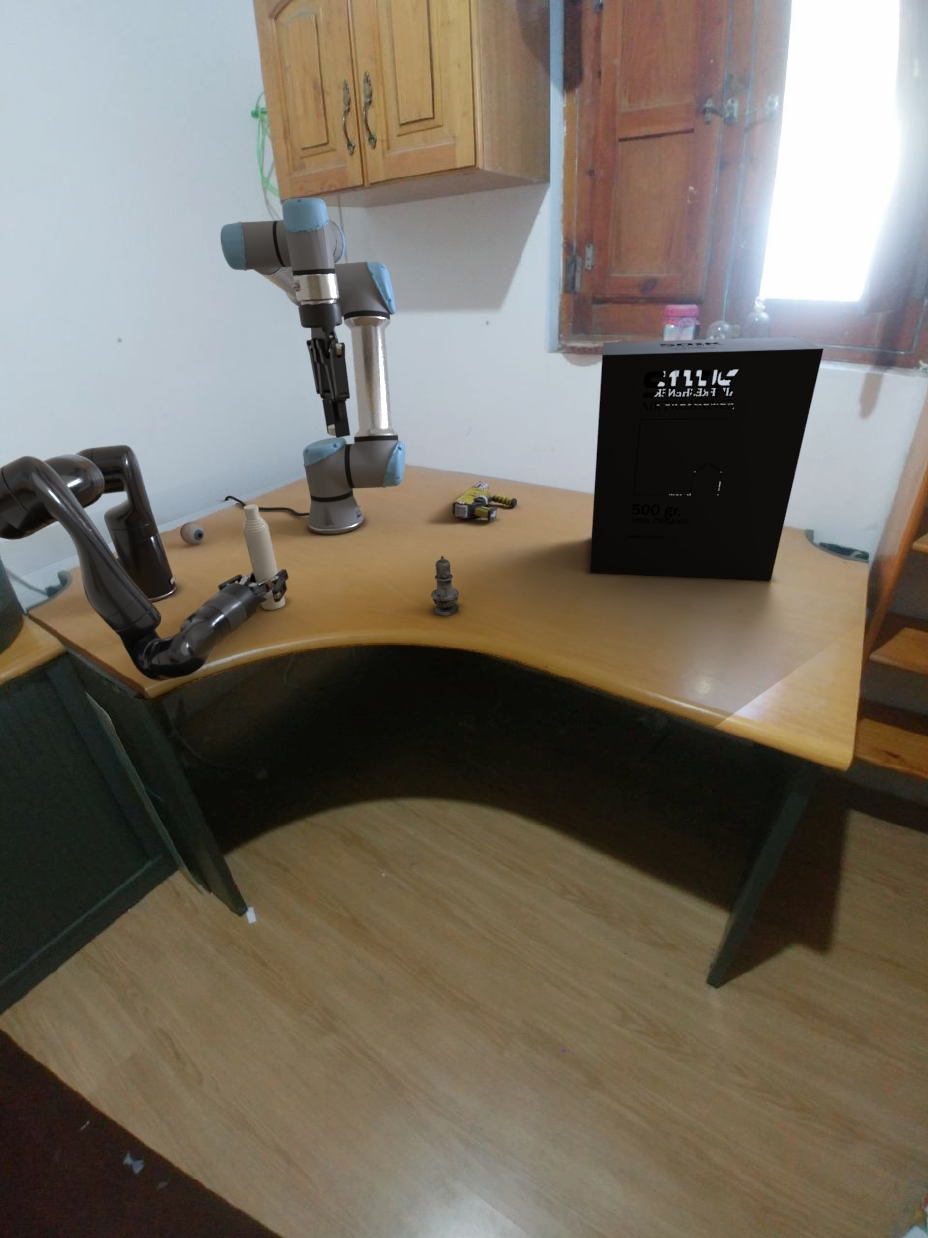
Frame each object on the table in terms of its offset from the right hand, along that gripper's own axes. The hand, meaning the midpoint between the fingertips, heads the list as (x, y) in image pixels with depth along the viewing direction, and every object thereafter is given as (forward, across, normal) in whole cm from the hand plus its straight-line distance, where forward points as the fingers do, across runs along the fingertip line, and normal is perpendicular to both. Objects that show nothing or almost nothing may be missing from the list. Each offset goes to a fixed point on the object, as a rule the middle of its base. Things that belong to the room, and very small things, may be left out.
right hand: (338, 433), depth 120 cm
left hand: (+27, -4, -18) cm, 32 cm away
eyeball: (+33, -50, -26) cm, 65 cm away
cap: (-1, 0, 0) cm, 1 cm away
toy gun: (+33, -21, +50) cm, 63 cm away
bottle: (+33, -2, -20) cm, 39 cm away
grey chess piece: (+33, +23, +9) cm, 41 cm away
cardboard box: (+33, +35, +63) cm, 80 cm away
